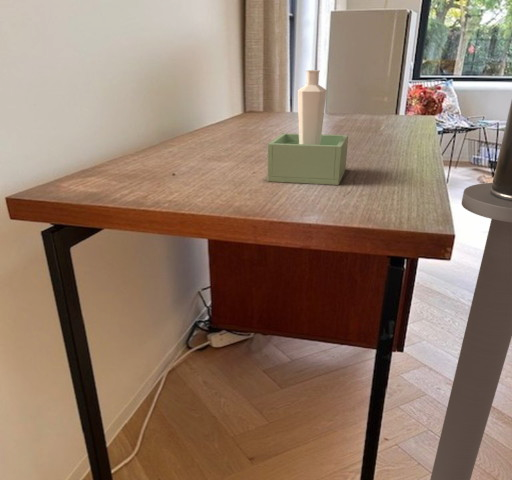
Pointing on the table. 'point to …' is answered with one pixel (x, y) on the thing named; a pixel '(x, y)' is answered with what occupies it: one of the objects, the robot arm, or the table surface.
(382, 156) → the table surface
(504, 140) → the robot arm
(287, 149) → the bin
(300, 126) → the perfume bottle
